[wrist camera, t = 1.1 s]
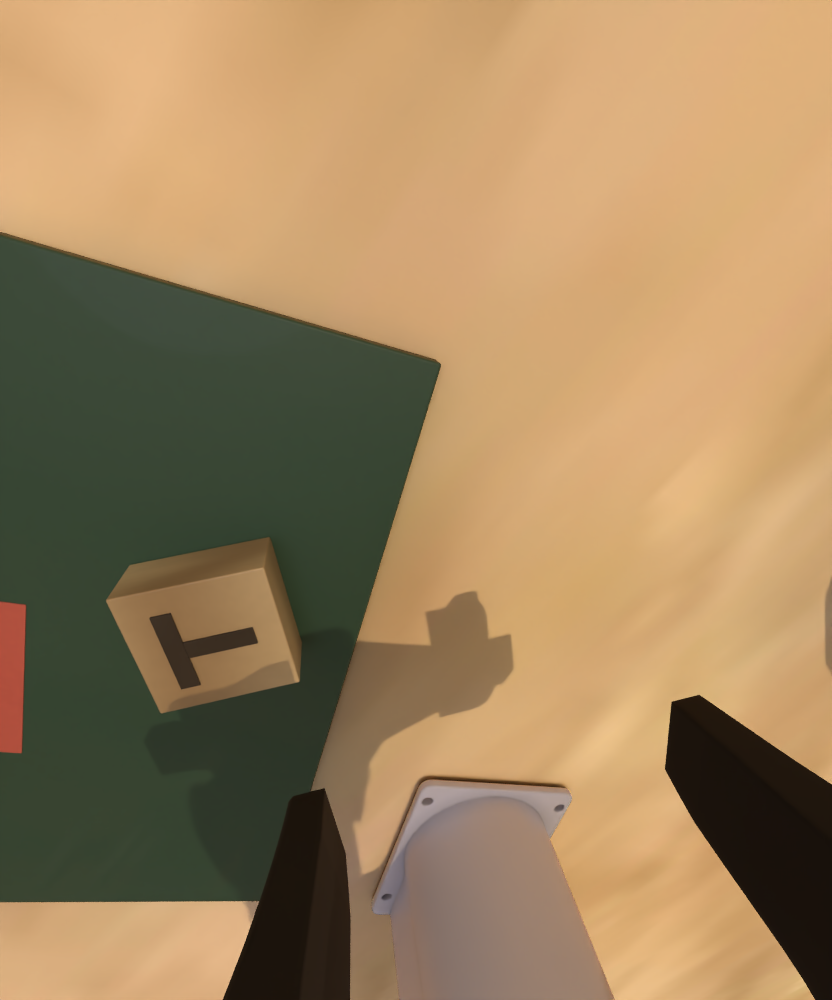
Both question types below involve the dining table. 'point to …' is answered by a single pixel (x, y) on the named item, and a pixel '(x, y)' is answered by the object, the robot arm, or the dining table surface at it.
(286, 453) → the game board
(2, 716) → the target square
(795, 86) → the dining table surface
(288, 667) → the letter tile
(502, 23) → the dining table surface
